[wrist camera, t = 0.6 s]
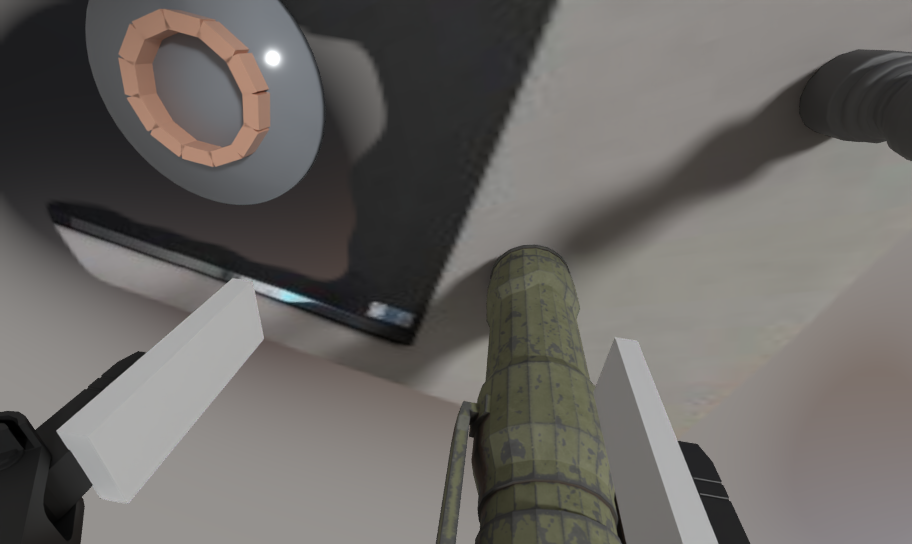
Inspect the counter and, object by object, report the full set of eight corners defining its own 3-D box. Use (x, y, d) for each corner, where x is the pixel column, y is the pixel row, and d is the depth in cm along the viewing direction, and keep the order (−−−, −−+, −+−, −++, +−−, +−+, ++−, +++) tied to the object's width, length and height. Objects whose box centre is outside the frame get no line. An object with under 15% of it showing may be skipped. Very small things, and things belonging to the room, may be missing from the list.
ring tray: (69, -90, 32) (28, -102, 30) (333, -17, 33) (317, -22, 30) (123, 171, 44) (97, 180, 41) (319, 223, 44) (306, 235, 41)
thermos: (568, 323, 47) (667, 841, 17) (469, 299, 47) (389, 773, 17) (598, 258, 42) (809, 811, 12) (488, 231, 42) (425, 717, 12)
